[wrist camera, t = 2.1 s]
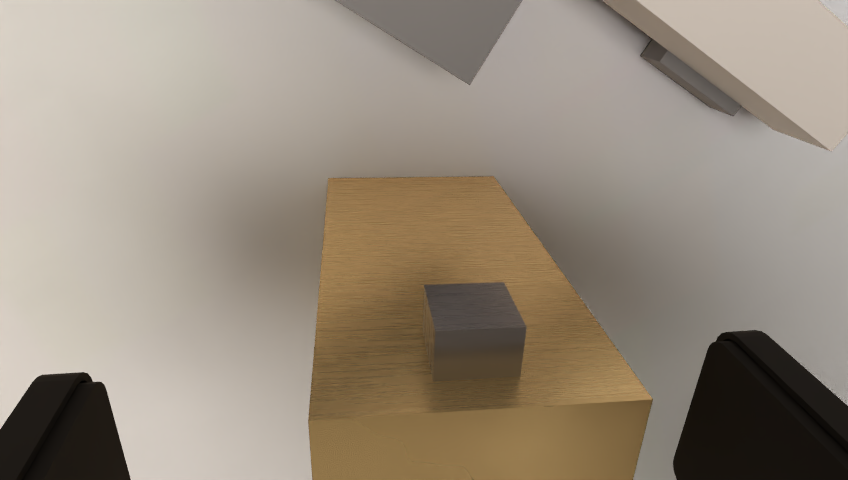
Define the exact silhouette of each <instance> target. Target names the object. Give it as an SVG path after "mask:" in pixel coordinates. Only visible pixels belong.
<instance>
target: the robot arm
mask: <svg viewBox="0 0 848 480" xmlns="http://www.w3.org/2000/svg"><path fill="white" fill-rule="evenodd" d="M673 468H674V473H675V476H676V479H677V480H848V406H847V405H846V404H845V403H844V402H842V401H841V400H840V399H839V398H838V397H837V396H836V395H835V394H833V393H832V392H831V391H830V390H829V389H828V388H827V387H826V386H824V385H823V384H822V383H821V382H820V381H819V380H818V379H816V378H815V377H814V376H813V375H812V374H811V373H810V372H809V371H807V370H806V369H805V368H804V367H803V366H802V365H801V364H800V363H798V362H797V361H796V360H795V359H794V358H793V357H792V356H790V355H789V354H788V353H787V352H786V351H785V350H784V349H783V348H781V347H780V346H779V345H778V344H777V343H776V342H775V341H774V340H772V339H771V338H770V337H769V336H768V335H766V334H765V333H763V332H762V331H757V330H752V331H736V332H725V333H722V334H721V335H720V336H718V338H717V340H716V342H713V343H712V344H711V345H710V346H709V348H708V350H707V353H706V357H705V360H704V363H703V366H702V369H701V373H700V376H699V379H698V382H697V385H696V389H695V392H694V395H693V398H692V401H691V405H690V408H689V411H688V414H687V418H686V421H685V424H684V427H683V430H682V434H681V437H680V440H679V443H678V446H677V450H676V453H675V456H674V460H673ZM0 480H131V479H130V475H129V472H128V468H127V464H126V461H125V457H124V453H123V450H122V446H121V442H120V439H119V435H118V431H117V428H116V424H115V420H114V417H113V413H112V409H111V406H110V402H109V398H108V395H107V391H106V388H105V386H104V384H103V383H102V382H93V381H92V379H91V377H90V376H89V375H88V373H84V372H81V373H65V374H49V375H41V376H39V377H37V378H36V379H35V380H34V381H33V382H32V384H31V385H30V387H29V388H28V390H27V391H26V393H25V394H24V395H23V397H22V398H21V400H20V401H19V403H18V404H17V406H16V407H15V409H14V410H13V412H12V413H11V414H10V416H9V417H8V419H7V420H6V422H5V423H4V425H3V426H2V428H1V429H0Z"/></svg>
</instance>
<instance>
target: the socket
mask: <svg viewBox="0 0 848 480" xmlns="http://www.w3.org/2000/svg"><path fill="white" fill-rule="evenodd" d="M335 1H337V2H339V3H340V4H342V5H343V6H345V7H347V8H348V9H350V10H351V11H353V12H354V13H356V14H358V15H359V16H361V17H362V18H364V19H366V20H367V21H369V22H370V23H372V24H373V25H375V26H377V27H378V28H380V29H381V30H383V31H385V32H386V33H388V34H389V35H391V36H393V37H394V38H396V39H397V40H399V41H400V42H402V43H404V44H405V45H407V46H408V47H410V48H412V49H413V50H415V51H416V52H418V53H419V54H421V55H423V56H424V57H426V58H427V59H429V60H431V61H432V62H434V63H435V64H437V65H438V66H440V67H442V68H443V69H445V70H446V71H448V72H450V73H451V74H453V75H454V76H456V77H457V78H459V79H461V80H462V81H464V82H465V83H467V84H469V85H470V84H471V82H472V81H473V79H474V77H475V76H476V74H477V72H478V71H479V69H480V68H481V66H482V64H483V63H484V61H485V60H486V58H487V56H488V55H489V53H490V52H491V50H492V48H493V47H494V45H495V43H496V42H497V40H498V39H499V37H500V35H501V34H502V32H503V31H504V29H505V27H506V26H507V24H508V23H509V21H510V19H511V18H512V16H513V14H514V13H515V11H516V10H517V8H518V6H519V5H520V3H521V2H522V0H335ZM602 1H603V2H605V3H606V4H607V5H609V6H610V7H611V8H613V9H614V10H615V11H616V12H618V13H619V14H620V15H622V16H623V17H624V18H626V19H627V20H628V21H630V22H631V23H632V24H634V25H635V26H636V27H638V28H639V29H640V30H642V31H643V32H644V33H646V34H647V35H648V36H650V37H651V38H652V40H651V42H650V43H649V45H648V46H647V47H646V49H645V50H644V52H643V53H642V55H641V57H643V58H644V59H645V60H647V61H648V62H649V63H651V64H652V65H653V66H655V67H656V68H658V69H659V70H660V71H662V72H663V73H664V74H666V75H667V76H668V77H670V78H671V79H672V80H674V81H675V82H677V83H678V84H679V85H681V86H682V87H683V88H685V89H686V90H687V91H689V92H690V93H692V94H693V95H694V96H696V97H697V98H698V99H700V100H701V101H702V102H704V103H705V104H707V105H708V106H709V107H711V108H713V109H716V110H718V111H721V112H724V113H726V114H729V115H732V116H734V115H735V114H736V112H737V111H738V110H739V108H740V107H741V106H742V107H744V108H745V109H746V110H748V111H749V112H750V113H752V114H753V115H754V116H756V117H757V118H758V119H760V120H761V121H762V122H764V123H765V124H766V125H768V126H769V127H770V128H771V129H773V130H776V131H778V132H781V133H784V134H786V135H789V136H792V137H794V138H797V139H800V140H802V141H805V142H808V143H810V144H813V145H816V146H818V147H821V148H824V149H826V150H829V151H832V150H833V149H834V148H835V147H836V146H837V145H838V143H839V142H840V141H841V140H842V139H843V138H844V137H845V135H846V134H847V133H848V26H846V25H845V24H844V23H843V22H842V21H841V20H840V19H839V18H838V17H836V16H835V15H834V14H833V13H832V12H831V11H830V10H829V9H828V8H826V7H825V6H824V5H823V4H822V3H821V2H820V1H819V0H602Z"/></svg>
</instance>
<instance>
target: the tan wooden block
mask: <svg viewBox="0 0 848 480" xmlns="http://www.w3.org/2000/svg"><path fill="white" fill-rule="evenodd" d="M652 401H653V399H652V398H651V396H650V395H649V393H648V392H647V391H646V389H645V388H644V386H643V385H642V384H641V382H640V381H639V379H638V378H637V377H636V375H635V374H634V372H633V371H632V370H631V368H630V367H629V365H628V364H627V363H626V361H625V360H624V358H623V357H622V356H621V354H620V353H619V351H618V350H617V349H616V347H615V346H614V344H613V343H612V342H611V340H610V339H609V337H608V336H607V335H606V333H605V332H604V330H603V329H602V328H601V326H600V325H599V323H598V322H597V321H596V319H595V318H594V316H593V315H592V314H591V312H590V311H589V309H588V308H587V307H586V305H585V304H584V302H583V301H582V300H581V298H580V297H579V295H578V294H577V293H576V291H575V290H574V288H573V287H572V286H571V284H570V283H569V281H568V280H567V279H566V277H565V276H564V274H563V273H562V272H561V270H560V269H559V267H558V266H557V265H556V263H555V262H554V260H553V259H552V258H551V256H550V255H549V253H548V252H547V251H546V249H545V248H544V246H543V245H542V244H541V242H540V241H539V239H538V238H537V237H536V235H535V234H534V232H533V231H532V230H531V228H530V227H529V225H528V224H527V223H526V221H525V220H524V218H523V217H522V216H521V214H520V213H519V211H518V210H517V209H516V207H515V206H514V204H513V203H512V202H511V200H510V199H509V197H508V196H507V195H506V193H505V192H504V190H503V189H502V188H501V186H500V185H499V183H498V182H497V181H496V179H495V178H494V176H489V177H400V178H328V190H327V203H326V215H325V227H324V239H323V251H322V263H321V275H320V287H319V299H318V311H317V323H316V335H315V347H314V359H313V371H312V383H311V395H310V407H309V419H308V423H309V437H310V451H311V465H312V479H313V480H633V477H634V473H635V469H636V465H637V461H638V457H639V453H640V449H641V445H642V441H643V437H644V433H645V429H646V425H647V421H648V417H649V413H650V409H651V405H652Z"/></svg>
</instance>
